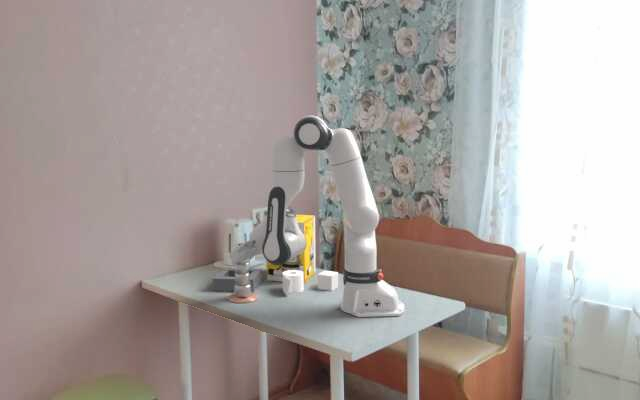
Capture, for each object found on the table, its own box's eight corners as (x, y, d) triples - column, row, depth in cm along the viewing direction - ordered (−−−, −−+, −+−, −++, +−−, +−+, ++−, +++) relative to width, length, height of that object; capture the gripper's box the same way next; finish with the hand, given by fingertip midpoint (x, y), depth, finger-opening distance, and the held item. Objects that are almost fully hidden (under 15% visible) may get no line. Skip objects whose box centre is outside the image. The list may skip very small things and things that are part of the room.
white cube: (317, 289, 223) (317, 274, 222) (324, 284, 228) (324, 270, 227) (331, 291, 220) (331, 276, 219) (338, 286, 225) (338, 272, 224)
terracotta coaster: (261, 294, 217) (261, 292, 217) (254, 303, 206) (254, 302, 206) (233, 293, 218) (233, 291, 218) (224, 302, 208) (224, 301, 208)
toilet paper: (286, 296, 214) (286, 279, 213) (280, 288, 225) (280, 270, 223) (307, 294, 216) (307, 277, 215) (300, 286, 227) (300, 269, 226)
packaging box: (315, 272, 246) (315, 215, 242) (304, 283, 230) (303, 222, 226) (280, 269, 250) (279, 213, 246) (266, 280, 234) (265, 220, 231)
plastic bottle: (235, 300, 209) (233, 247, 205) (233, 294, 215) (230, 242, 211) (253, 298, 211) (250, 246, 207) (250, 292, 217) (248, 241, 213)
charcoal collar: (262, 280, 234) (262, 268, 233) (253, 292, 219) (253, 279, 219) (224, 279, 236) (224, 267, 235) (213, 290, 221) (212, 278, 221)
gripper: (249, 251, 195) (227, 275, 201) (282, 239, 212) (261, 261, 218) (238, 237, 196) (217, 261, 202) (272, 226, 214) (251, 249, 220)
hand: (240, 261), depth 211 cm, fingers closed on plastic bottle, 6 cm apart
